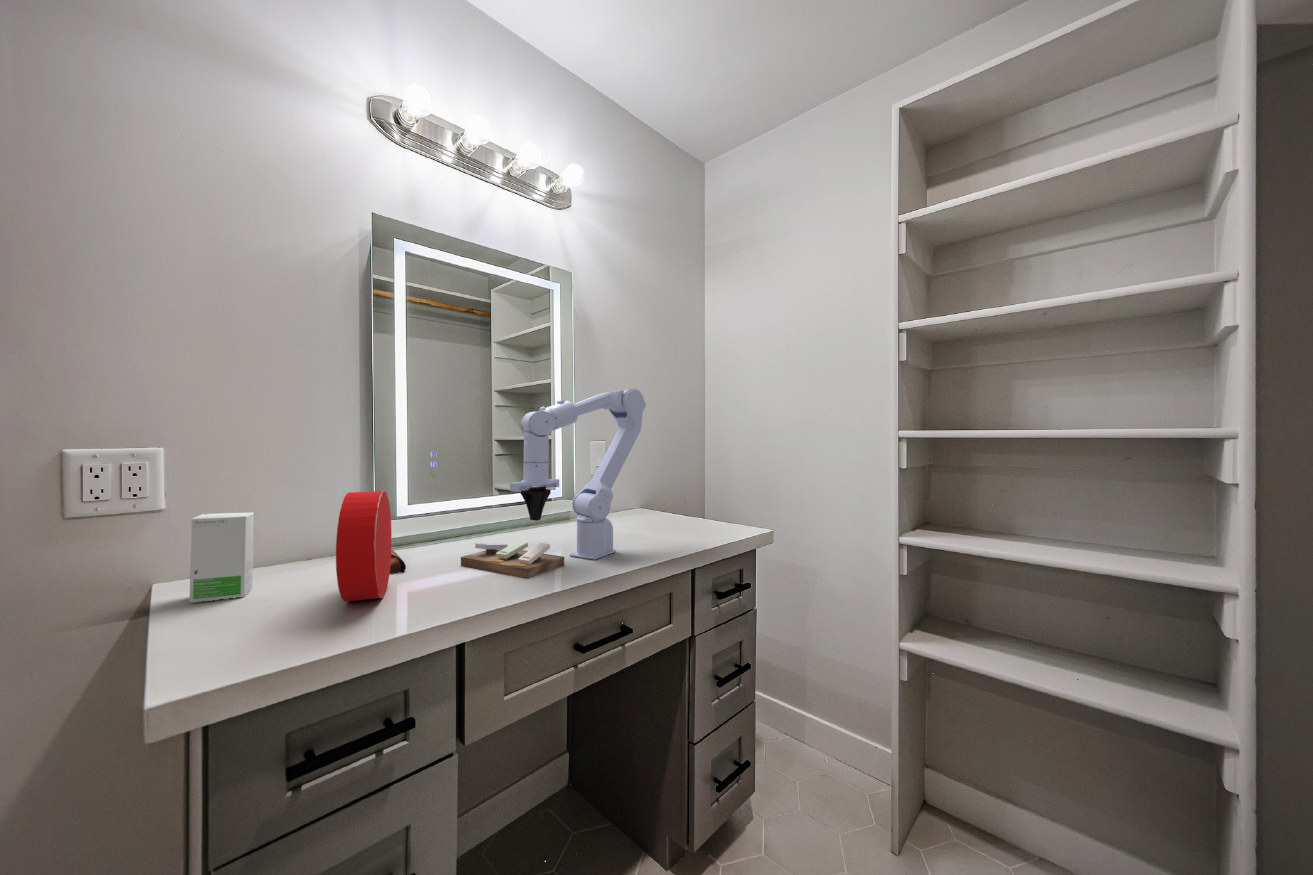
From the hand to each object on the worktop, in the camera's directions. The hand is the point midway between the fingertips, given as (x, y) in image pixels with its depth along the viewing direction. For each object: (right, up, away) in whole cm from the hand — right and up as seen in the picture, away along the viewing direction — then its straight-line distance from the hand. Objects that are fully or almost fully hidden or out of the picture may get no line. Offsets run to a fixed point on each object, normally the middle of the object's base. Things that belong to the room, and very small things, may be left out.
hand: (535, 519), depth 119 cm
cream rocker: (+1, -7, -5) cm, 8 cm away
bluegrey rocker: (-11, -7, +2) cm, 13 cm away
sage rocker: (-5, -7, -1) cm, 9 cm away
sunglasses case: (-36, -11, -2) cm, 38 cm away
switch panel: (-5, -10, -1) cm, 12 cm away
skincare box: (-54, -11, -22) cm, 60 cm away
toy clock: (-26, -11, -24) cm, 37 cm away
